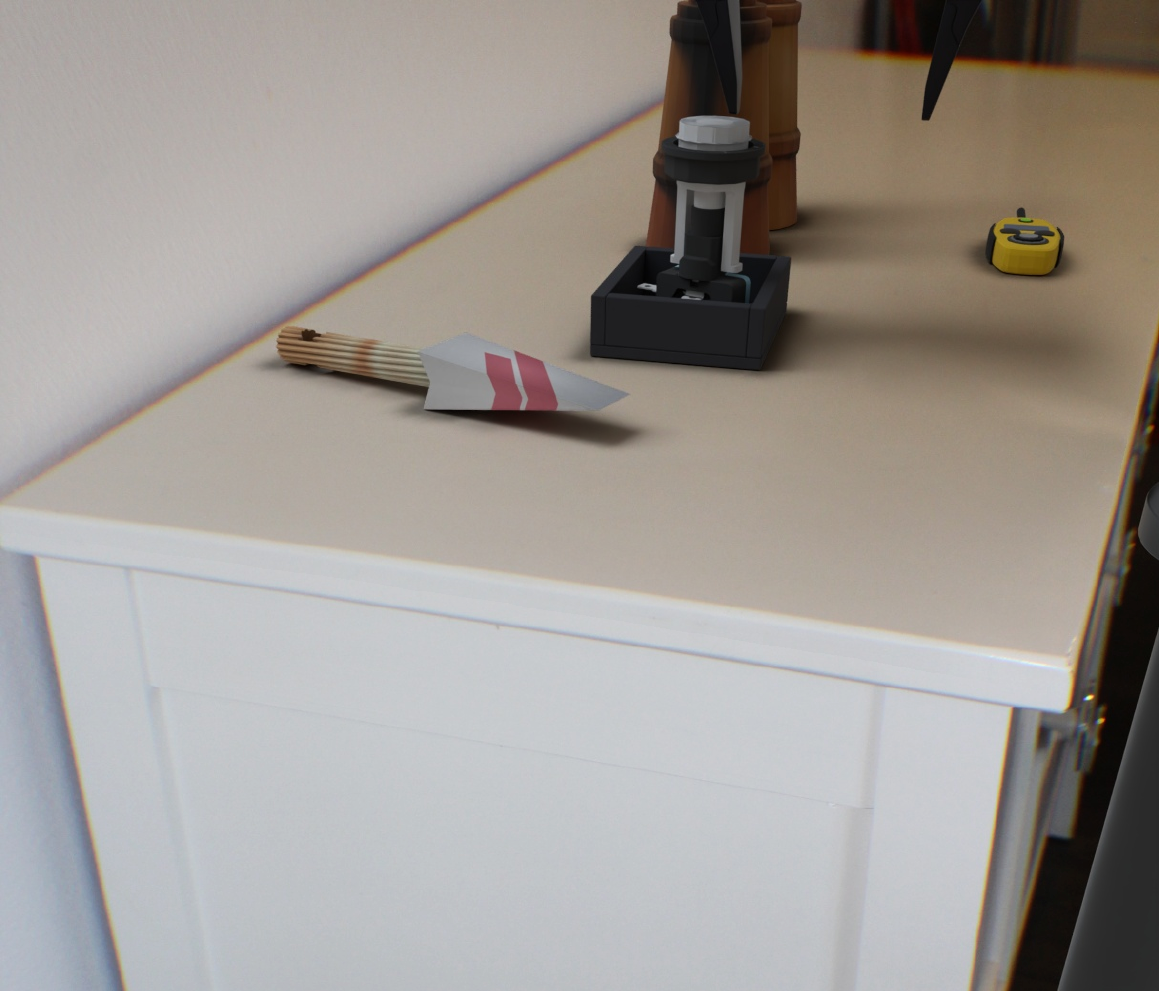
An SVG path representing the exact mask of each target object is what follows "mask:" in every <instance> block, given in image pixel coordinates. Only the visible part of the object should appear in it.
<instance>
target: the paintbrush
mask: <svg viewBox="0 0 1159 991" xmlns="http://www.w3.org/2000/svg"><path fill="white" fill-rule="evenodd" d="M280 329H281V330H280V332H278V334H277V337H276V340H275V341H276V345H275V348H276V349H277V352H276V353H277V354H278V355H279V357H280V359H281V360H283V361H284V362H286V363H290V364H296V365H301V366H308V365H309V364H311V365H316V367H317V368H321V369H327V370H331V371H337V372H341V373H347V374H353V375H359V376H364V377H368V378H374V379H375V378H376V379H381V380H386V381H392V382H398V383H404V384H409V385H415V386H420V387H421V386H422V387H426V388H428V389H427V394H426V396H425V401H424V405H423V410H455V411H456V410H457V411H458V410H460V411H461V410H462V411H463V410H465V411H466V410H471V411H475V410H477V411H574V412H575V411H576V412H577V411H578V412H580V411H581V412H598V411H601V410H604V409H605V408H607V407H609V406H611V405H612V404H615V403H617V402H619V401H620V400H622V399H625V398H627V397H628V396H630V395H631V393H629V392H626V391H623V390H621V389H618V388H615V387H614V386H613V387H612V386H610V385H607V384H604V383H602V382H600V381H597V380H595V379H592V378H589V377H586V376H583V375H581V374H578V373H575V372H573V371H570V370H567V369H565V368H562V367H559V366H558V365H554V364H551V363H550V362H546V361H544V360H542V359H538V358H536V357H534V356H530V355H528V354H525V353H522V352H519V351H518V350H514V349H511V348H509V347H506V346H504V345H502V344H498V343H496V342H493V341H490V340H488V339H485V338H483V337H480V336H477V335H474V334H472V333H469V332H463V333H461V334H458V335H455V336H453V337H451V338H448V339H446V340H444V341H443V340H442V341H441V342H438V343H436V344H433V345H430V346H428V347H420V346H414V345H409V344H408V345H407V344H402V343H395V342H389V341H383V340H379V339H372V338H365V337H360V336H354V335H348V334H341V333H335V332H330V331H326V332H325V333H323V332H322V333H321V332H316V330H315V329H311V328H306V327H300V326H295V325H286V326H285V327H282V328H280Z"/></svg>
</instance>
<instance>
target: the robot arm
mask: <svg viewBox="0 0 1159 991" xmlns="http://www.w3.org/2000/svg"><path fill="white" fill-rule="evenodd" d="M695 1H696V3H697V6H698V8H699V11H700V13H701V16H702V19H703V21H704V24H705V28H706V31H707V34H708V38H709V40H710V45H711V49H712V52H713V56H714V60H715V64H716V67H717V71H718V75H719V78H720V82H721V86H722V90H723V93H724V97H725V101H726V104H727V108H728V112H729V114H731V115H737V114H738V113H739V111H740V101H741V88H742V55H741V31H740V6H739V0H695ZM982 1H983V0H945V2H944V7H943V10H942V14H941V19H940V24H939V28H938V32H937V35H936V40H935V44H934V48H933V52H932V57H931V60H930V64H929V68H928V73H927V77H926V80H925V86H924V93H923V102H922V110H921V117H920V119H921V121H922V122H924V121H927V122H929V121H930V120H931V118H932V116H933V113H934V110H935V108H936V105H937V103H938V100H939V98H940V96H941V93H942V90H943V88H944V86H945V83H946V81H947V79H948V76H949V74H950V71H951V68H952V66H953V64H954V62H955V59H956V57H957V54H958V51H959V49H960V47H961V45H962V41H963V39H964V37H965V35H966V32H967V30H968V28H969V26H970V24H971V22H972V20H973V18H974V17H975V15H976V13H977V12H978V11H977V10H978V9H979V8H980V5H981V4H982Z"/></svg>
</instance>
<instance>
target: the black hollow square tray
mask: <svg viewBox="0 0 1159 991" xmlns="http://www.w3.org/2000/svg"><path fill="white" fill-rule="evenodd" d="M674 250H675V248H663V247H647V246H646V245H634V246H633V247H632V248H631V249H630V250H629V251H628V253H627V254H626V255H625V256H624V257H623V259H621V261H619V263H618V264H617V265H616V266H615V268H614V269H613V270H612V271H610V274H608V276H607V277H606V278H605V279H604V280H603V281H602V282H601V283H600V285H599V286H598V287H597V288H596V289H595V290H594V291H593V293H592V294H591V295H590V322H589V324H590V327H589V329H590V330H589V332H590V336H589V343H590V345H589V355H590V356H591V357H600V358H613V359H624V360H635V361H645V362H646V361H647V362H659V363H668V364H669V363H670V364H682V365H693V366H694V365H695V366H704V367H705V366H706V367H715V368H718V367H719V368H730V369H738V370H739V369H740V370H752V371H761V369H762V366H763V365H764V362H765V361H766V359H767V356H768V354H769V351H770V349H771V347H772V345H773V342H774V341H775V338H776V336H777V334H778V332H779V329H780V328H781V325H782V323H783V320H784V319H785V316H786V314H787V310H788V303H787V302H788V298H789V289H790V278H791V267H792V256H790V255H789V256H788V255H787V256H786V255H775V254H769V255H763V254H749V253H740V254H739V263H742V264H743V265H742V271H740V272H738V275H744V276H747V277H749V279H750V282H751V285H750V298H749V304H748V303H735V302H722V301H709V300H696V299H683V298H670V297H657V296H656V292H653V291H652V290H647V289H641V288H638V287H637V286H638V285H641V284H643V283H646V284H651V285H656V283H657V275H658V274H659V273H660V272H663V271H665V270H668V269H670V268H673V267H675V266H677V265H679V264H677V263H672V262H670V260H671V255H672V254H674Z"/></svg>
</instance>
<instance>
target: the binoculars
mask: <svg viewBox="0 0 1159 991" xmlns="http://www.w3.org/2000/svg"><path fill="white" fill-rule="evenodd" d="M676 6H677V7H676V14H673V15H671V17H670V18H669V29H668V30H669V32H668V33H669V37H670V39H671V41H670V49H669V57H668V65H667V73H666V81H665V90H664V96H663V105H662V114H661V122H660V131H659V138H658V147H657V150H656V152H655V154H654V156H653V158H652V175H653V177H654V179H655V180H654V187H653V194H652V200H651V208H650V213H649V221H648V228H647V235H646V241H645V246H647V247H663V248H675V230H676V209H677V180H674V179H672V178H671V177H669V176H668V175H666V174H665V172H664V168H665V153H664V152H662V151H661V142H662V141H663V140H664V139H666V138H670V137H674V136H675V135H676V134H677V133H679V125H680V120H681V119H683V118H687V117H695V116H725V117H735V118H740V119H745V120H747V121H749V122H750V128H749V135H751V136H752V139H756V140H759V141H762V142H764V143H765V145H766V147H765V154H764V155H762V156H760V169H759V176H758V177H757V178H756V179H755V180H752V181H747V182H745V190H744V199H743V213H742V227H741V240H740V253H749V254H763V255H770V251H771V250H770V231H772V230H773V231H775V230H781V229H784V228H788V227H791V226H792V225H794V224H796V223H797V222H798V190H797V189H798V187H797V186H798V184H797V179H798V178H797V155H798V154H799V151H800V146H801V136H802V132H801V130H800V128H799V127H798V95H799V94H798V92H799V90H798V89H799V88H798V87H799V83H798V82H799V76H798V75H799V23H800V20H801V18H802V10H803V8H802V7H803V4H802V2H801V1H798V0H739V6H740V31H741V55H742V88H741V101H740V111H739V113H738V114H737V115H731V114H729V112H728V108H727V104H726V101H725V97H724V93H723V90H722V86H721V82H720V78H719V75H718V71H717V67H716V64H715V60H714V56H713V52H712V49H711V45H710V40H709V38H708V34H707V31H706V28H705V24H704V21H703V19H702V16H701V13H700V11H699V8H698V6H697V3H696V1H695V0H680V1H677V5H676Z"/></svg>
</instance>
